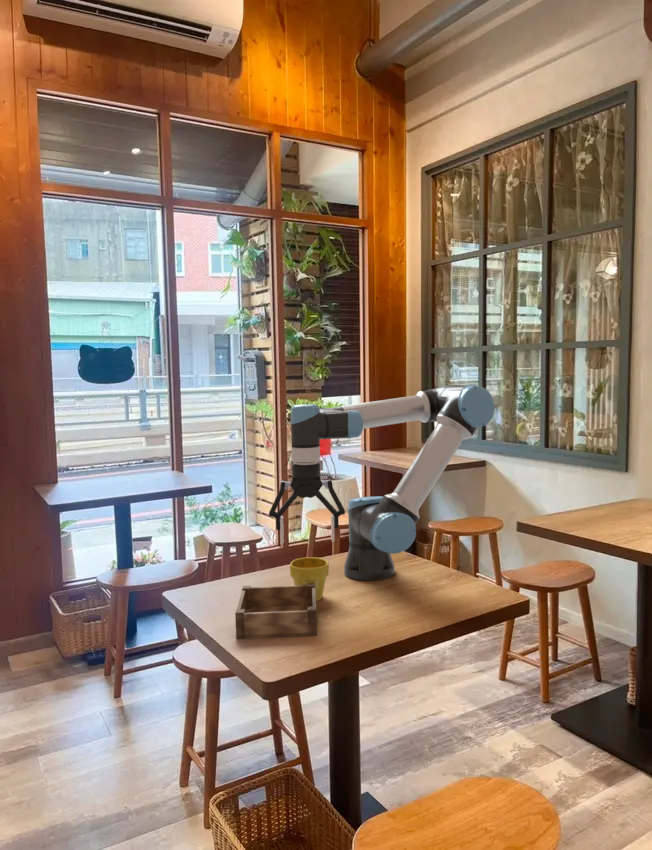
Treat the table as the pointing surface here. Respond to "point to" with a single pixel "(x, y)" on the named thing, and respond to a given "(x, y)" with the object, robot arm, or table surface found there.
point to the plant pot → (310, 573)
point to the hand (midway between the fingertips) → (307, 541)
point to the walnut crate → (276, 612)
